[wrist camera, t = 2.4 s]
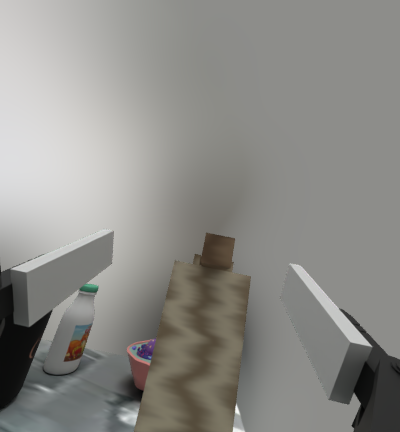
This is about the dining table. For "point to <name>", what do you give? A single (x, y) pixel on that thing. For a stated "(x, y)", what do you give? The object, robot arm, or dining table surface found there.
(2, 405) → the coffee jar
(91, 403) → the dining table surface
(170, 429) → the wooden block tower
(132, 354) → the cell model
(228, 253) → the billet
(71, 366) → the milk bottle
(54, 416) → the dining table surface
